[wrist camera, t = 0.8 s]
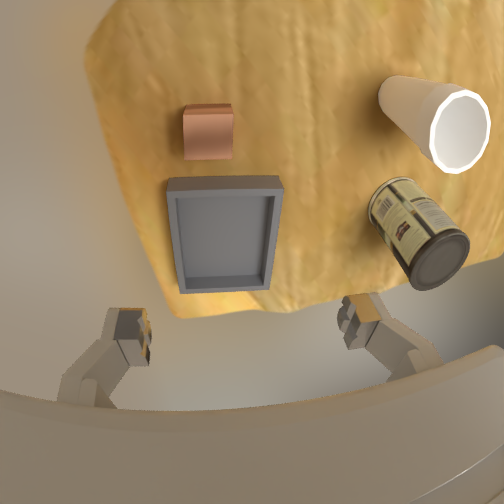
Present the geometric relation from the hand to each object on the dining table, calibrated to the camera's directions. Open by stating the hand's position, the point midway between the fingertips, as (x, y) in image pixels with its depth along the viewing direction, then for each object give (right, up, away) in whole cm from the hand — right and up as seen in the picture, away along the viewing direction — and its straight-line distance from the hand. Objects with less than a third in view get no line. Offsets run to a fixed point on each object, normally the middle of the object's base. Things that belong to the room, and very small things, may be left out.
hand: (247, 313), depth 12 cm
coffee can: (+23, +10, +32) cm, 41 cm away
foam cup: (+19, +23, +20) cm, 36 cm away
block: (-5, +17, +20) cm, 27 cm away
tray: (-4, +5, +31) cm, 32 cm away
